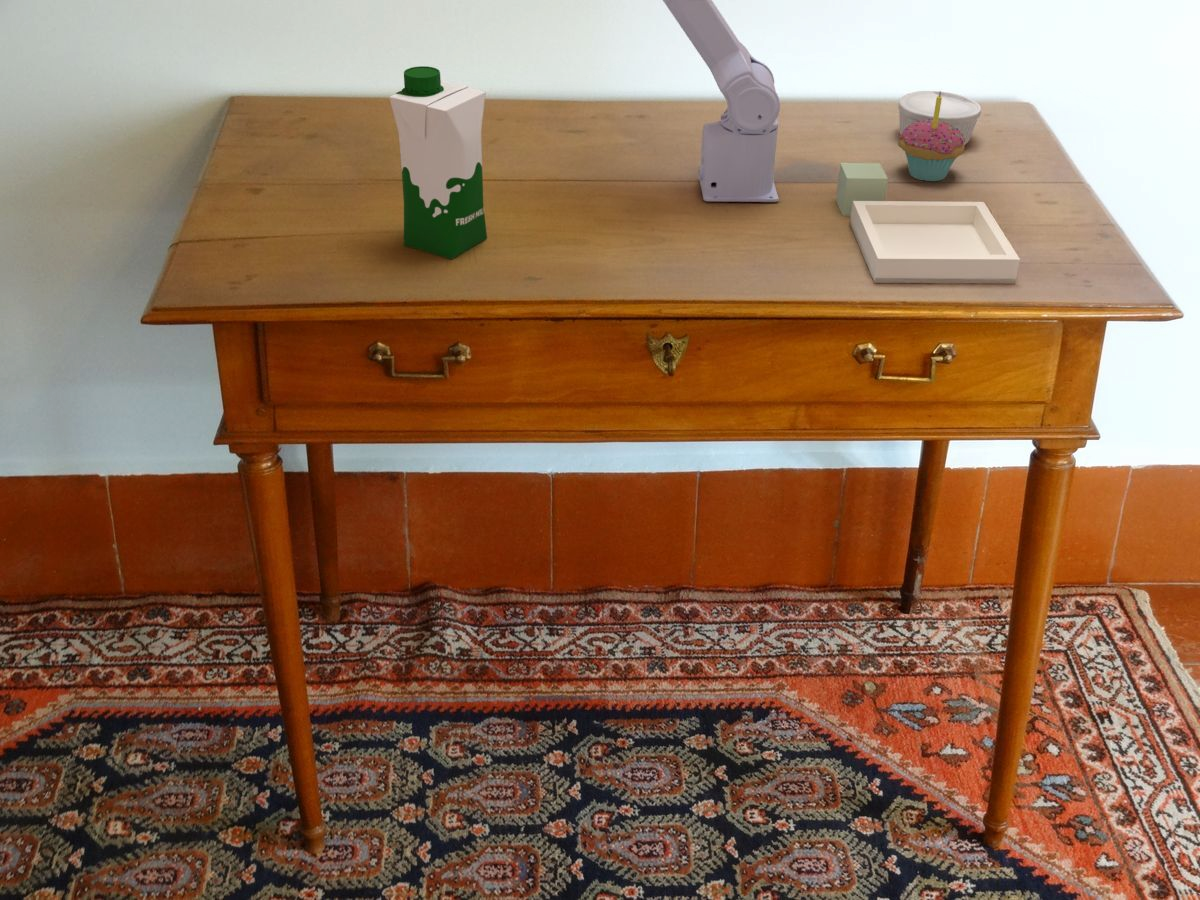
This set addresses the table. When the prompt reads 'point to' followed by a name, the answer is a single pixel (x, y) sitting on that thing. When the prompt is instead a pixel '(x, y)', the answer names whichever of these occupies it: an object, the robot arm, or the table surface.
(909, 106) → the ramekin
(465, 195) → the milk carton
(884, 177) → the sage block
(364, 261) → the table surface
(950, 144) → the cupcake
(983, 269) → the cream bin
